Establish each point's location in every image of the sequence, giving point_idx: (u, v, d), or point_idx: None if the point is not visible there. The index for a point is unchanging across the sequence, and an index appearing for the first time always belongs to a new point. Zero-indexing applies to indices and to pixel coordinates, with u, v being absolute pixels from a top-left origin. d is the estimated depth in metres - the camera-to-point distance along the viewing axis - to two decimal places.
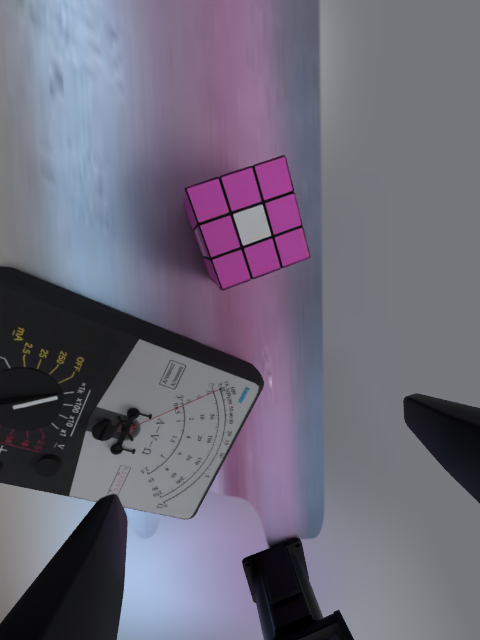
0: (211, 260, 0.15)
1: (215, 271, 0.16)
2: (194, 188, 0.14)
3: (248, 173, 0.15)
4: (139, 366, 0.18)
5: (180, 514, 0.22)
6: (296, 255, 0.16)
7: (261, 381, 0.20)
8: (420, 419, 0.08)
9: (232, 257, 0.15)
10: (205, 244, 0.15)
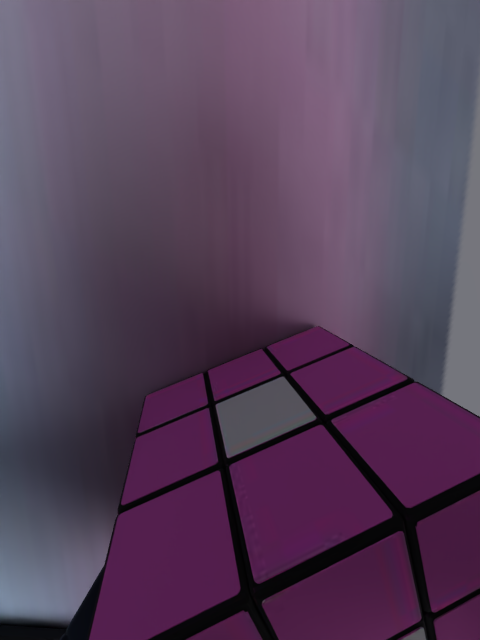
0: None
1: None
2: None
3: (385, 554, 0.03)
4: None
5: None
6: None
7: None
8: None
9: None
10: None
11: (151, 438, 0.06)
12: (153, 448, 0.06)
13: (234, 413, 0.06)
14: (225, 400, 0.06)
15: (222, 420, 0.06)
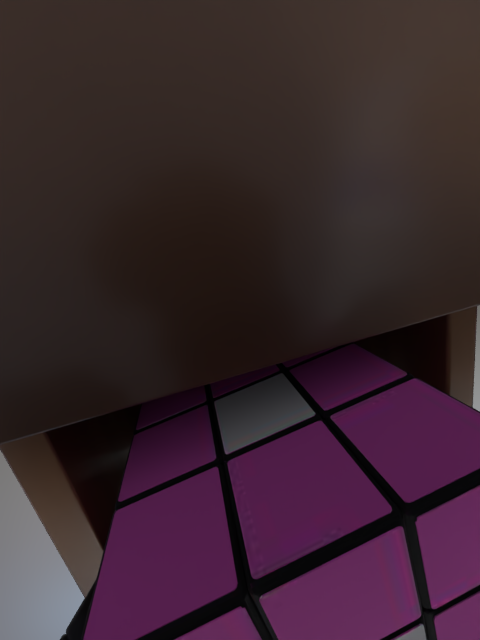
0: None
1: None
2: None
3: (384, 550, 0.03)
4: None
5: None
6: None
7: None
8: None
9: None
10: None
11: (149, 435, 0.06)
12: (151, 444, 0.06)
13: (233, 410, 0.06)
14: (224, 397, 0.06)
15: (221, 417, 0.06)
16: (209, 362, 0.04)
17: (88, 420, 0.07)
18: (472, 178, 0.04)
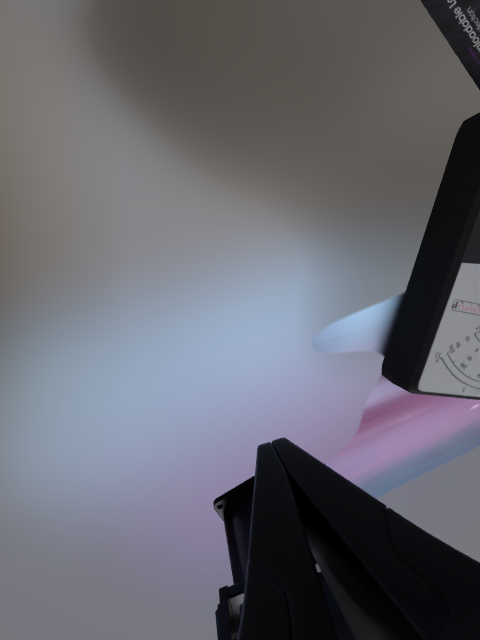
0: None
1: None
2: None
3: None
4: None
5: (424, 378, 0.20)
6: None
7: None
8: None
9: None
10: None
11: None
12: None
13: None
14: None
15: None
16: None
17: None
18: None
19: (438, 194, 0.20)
